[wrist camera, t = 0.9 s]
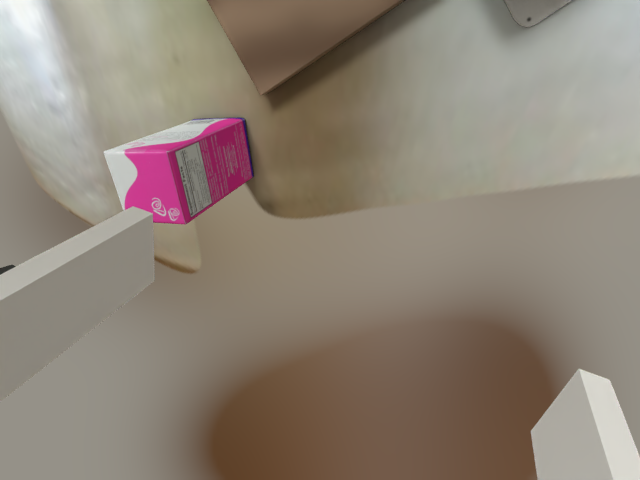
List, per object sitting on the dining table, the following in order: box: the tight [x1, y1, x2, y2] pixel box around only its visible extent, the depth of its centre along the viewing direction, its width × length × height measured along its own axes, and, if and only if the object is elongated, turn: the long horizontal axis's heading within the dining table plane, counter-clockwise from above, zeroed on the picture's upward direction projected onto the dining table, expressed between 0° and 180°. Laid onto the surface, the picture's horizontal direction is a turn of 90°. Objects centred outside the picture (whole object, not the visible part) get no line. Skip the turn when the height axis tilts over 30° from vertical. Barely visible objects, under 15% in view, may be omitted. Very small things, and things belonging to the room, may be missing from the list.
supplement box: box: [104, 118, 254, 224], centre depth 34 cm, size 6×6×12 cm
